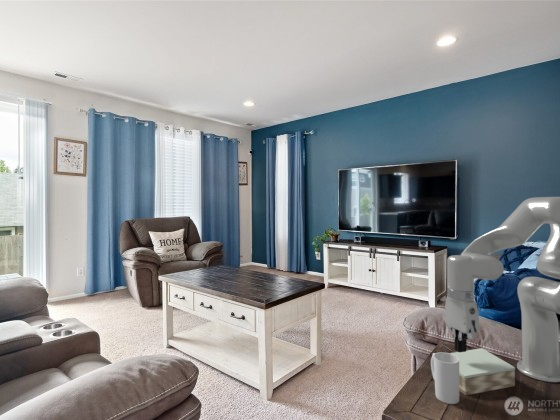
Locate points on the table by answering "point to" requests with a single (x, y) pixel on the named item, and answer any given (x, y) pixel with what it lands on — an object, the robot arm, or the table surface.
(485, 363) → the lid
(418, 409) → the table surface
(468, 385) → the beige box
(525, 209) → the robot arm
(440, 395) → the mug
